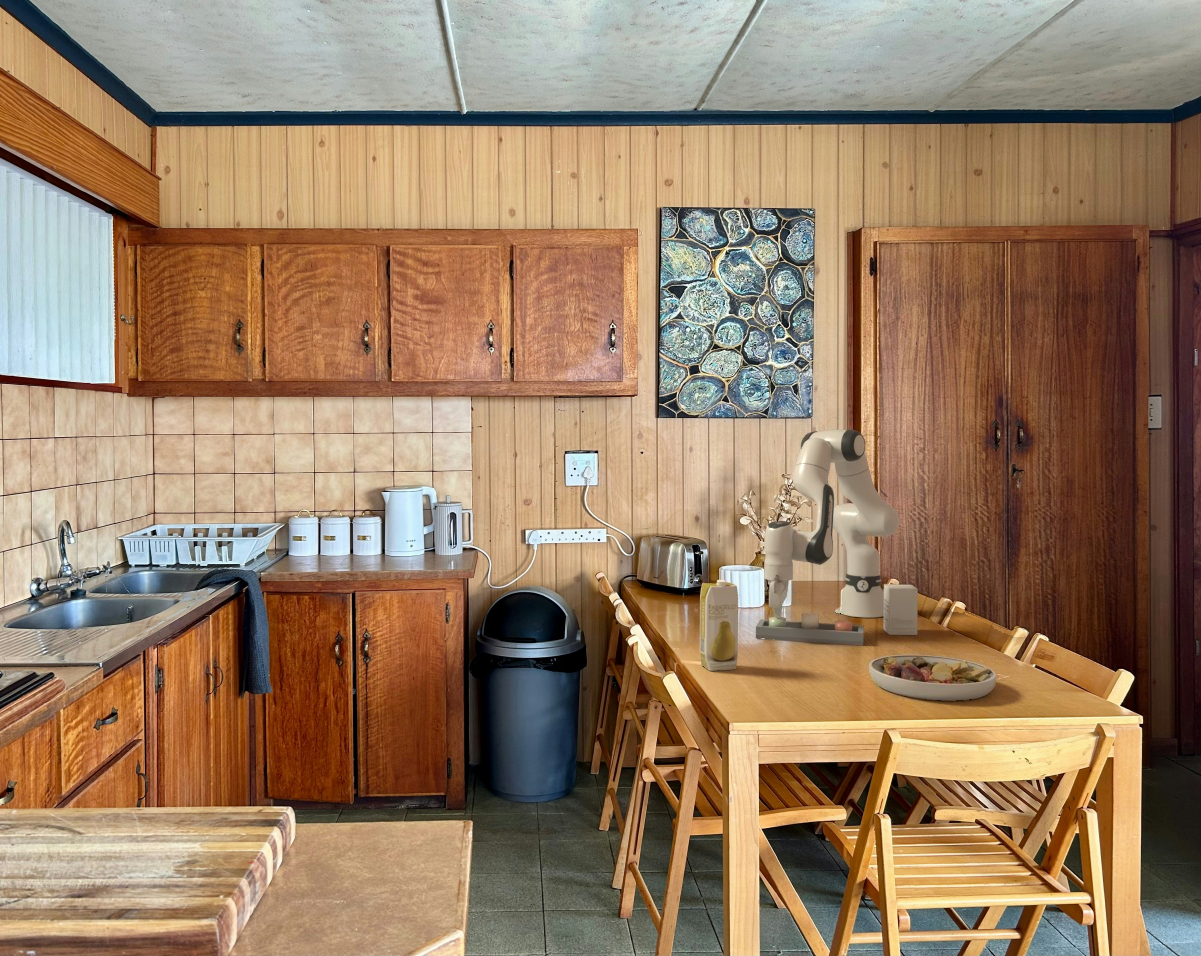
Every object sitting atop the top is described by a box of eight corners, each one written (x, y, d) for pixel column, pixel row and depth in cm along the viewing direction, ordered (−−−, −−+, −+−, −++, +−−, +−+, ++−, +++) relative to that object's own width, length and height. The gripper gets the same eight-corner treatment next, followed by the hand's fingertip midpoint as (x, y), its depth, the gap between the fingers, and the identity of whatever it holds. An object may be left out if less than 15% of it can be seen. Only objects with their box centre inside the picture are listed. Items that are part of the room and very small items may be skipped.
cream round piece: (802, 625, 294) (802, 612, 294) (819, 626, 293) (819, 613, 293) (800, 628, 289) (801, 615, 289) (818, 629, 288) (818, 616, 288)
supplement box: (911, 629, 305) (912, 584, 304) (917, 635, 296) (918, 588, 295) (882, 629, 306) (883, 583, 305) (888, 634, 297) (889, 587, 296)
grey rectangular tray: (760, 631, 301) (760, 619, 301) (863, 637, 292) (863, 625, 292) (755, 638, 290) (755, 626, 290) (863, 645, 281) (863, 633, 281)
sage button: (769, 628, 297) (770, 616, 297) (786, 629, 296) (786, 617, 295) (768, 632, 292) (768, 619, 292) (785, 633, 291) (785, 620, 290)
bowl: (895, 667, 256) (896, 638, 255) (1011, 686, 237) (1012, 655, 237) (849, 689, 233) (849, 658, 232) (972, 712, 214) (973, 678, 213)
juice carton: (707, 672, 248) (708, 582, 247) (696, 665, 256) (697, 577, 254) (740, 670, 250) (741, 581, 249) (728, 663, 258) (729, 576, 257)
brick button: (834, 632, 291) (835, 620, 291) (852, 634, 290) (852, 621, 290) (834, 636, 286) (834, 623, 286) (851, 637, 285) (852, 624, 285)
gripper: (785, 578, 282) (785, 624, 283) (791, 569, 302) (791, 611, 303) (764, 577, 284) (763, 622, 285) (771, 568, 304) (771, 610, 304)
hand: (777, 617), depth 294 cm, fingers closed
